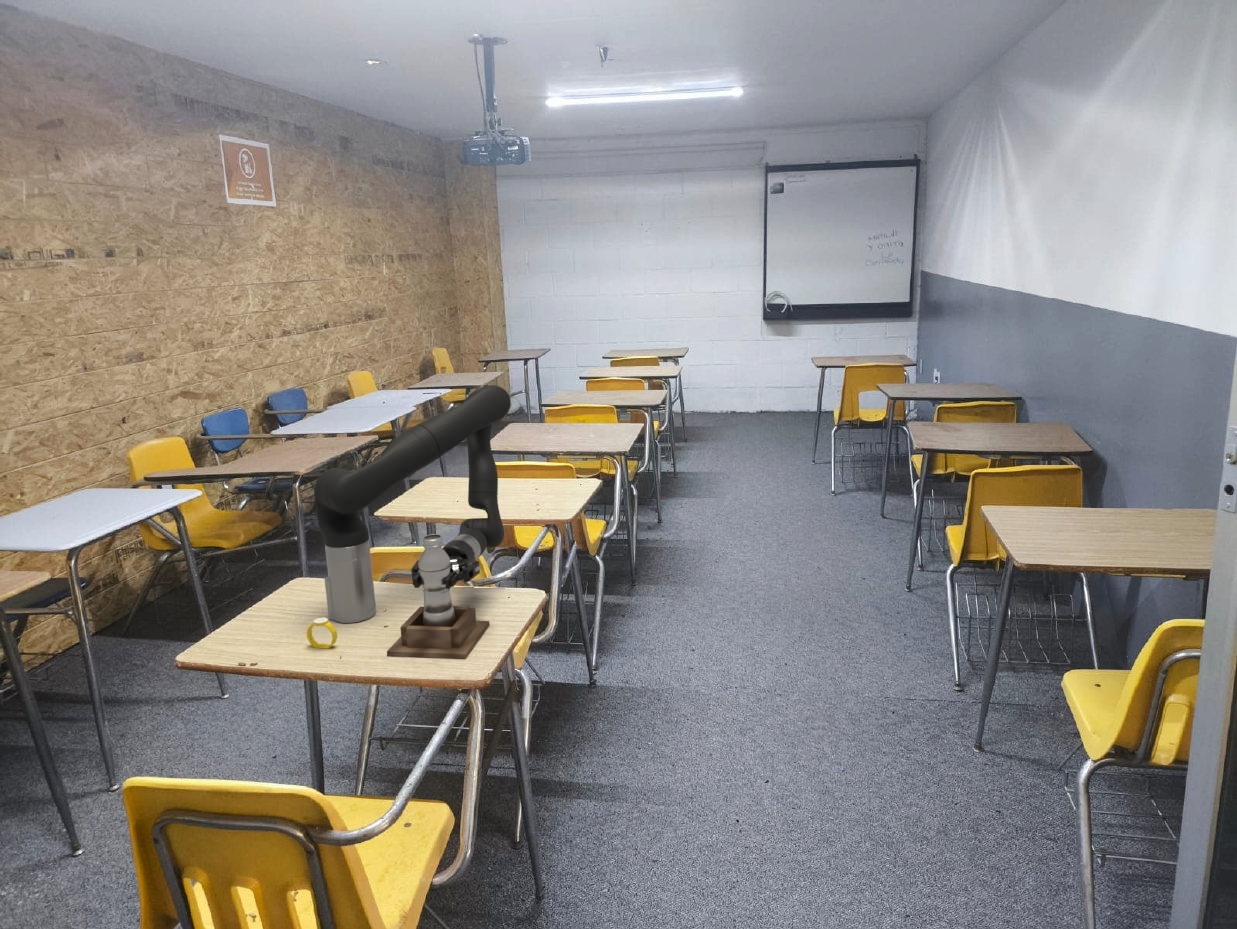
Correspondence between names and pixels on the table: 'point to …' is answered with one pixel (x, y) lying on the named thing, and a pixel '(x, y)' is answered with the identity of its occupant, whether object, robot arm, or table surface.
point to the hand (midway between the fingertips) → (431, 583)
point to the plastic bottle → (436, 583)
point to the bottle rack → (439, 636)
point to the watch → (320, 623)
